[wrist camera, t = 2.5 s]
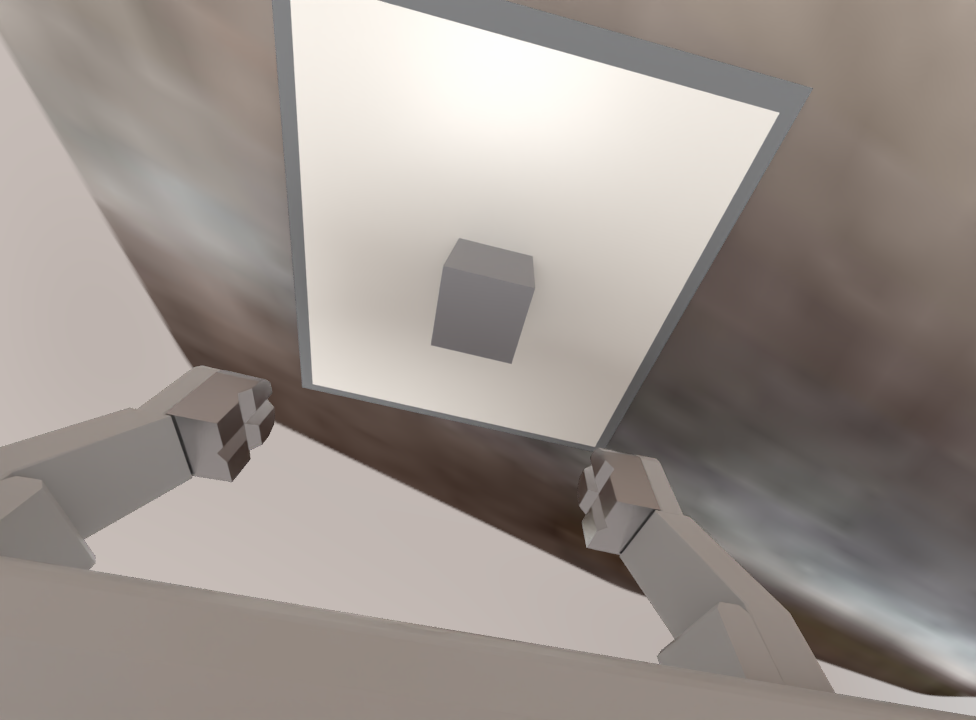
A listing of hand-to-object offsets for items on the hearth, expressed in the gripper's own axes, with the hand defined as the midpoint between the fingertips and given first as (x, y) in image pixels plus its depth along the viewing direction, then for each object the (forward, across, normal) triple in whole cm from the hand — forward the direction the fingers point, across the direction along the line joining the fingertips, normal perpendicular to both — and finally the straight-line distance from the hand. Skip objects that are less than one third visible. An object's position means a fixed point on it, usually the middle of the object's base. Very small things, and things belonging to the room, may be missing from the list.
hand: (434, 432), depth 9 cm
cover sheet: (+11, -1, 0) cm, 11 cm away
